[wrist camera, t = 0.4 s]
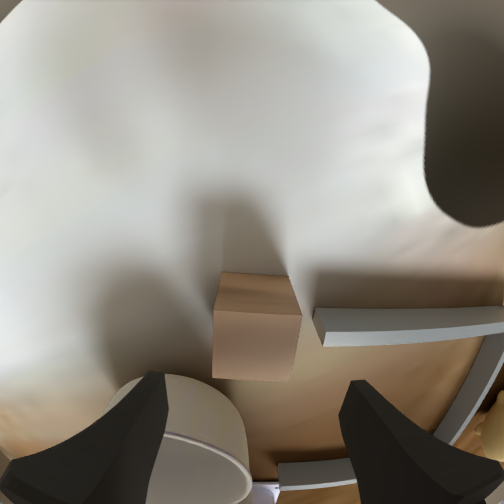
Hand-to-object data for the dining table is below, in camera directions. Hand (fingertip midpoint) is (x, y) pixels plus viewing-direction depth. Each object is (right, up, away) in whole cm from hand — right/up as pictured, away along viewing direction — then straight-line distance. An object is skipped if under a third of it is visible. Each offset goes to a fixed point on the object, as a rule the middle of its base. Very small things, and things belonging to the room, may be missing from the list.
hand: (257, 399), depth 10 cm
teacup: (-5, -8, +11) cm, 15 cm away
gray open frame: (+12, -8, +11) cm, 18 cm away
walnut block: (0, +2, +8) cm, 8 cm away
